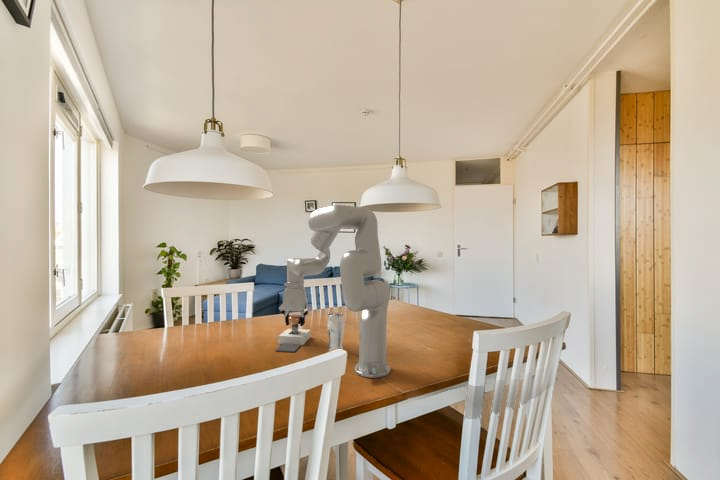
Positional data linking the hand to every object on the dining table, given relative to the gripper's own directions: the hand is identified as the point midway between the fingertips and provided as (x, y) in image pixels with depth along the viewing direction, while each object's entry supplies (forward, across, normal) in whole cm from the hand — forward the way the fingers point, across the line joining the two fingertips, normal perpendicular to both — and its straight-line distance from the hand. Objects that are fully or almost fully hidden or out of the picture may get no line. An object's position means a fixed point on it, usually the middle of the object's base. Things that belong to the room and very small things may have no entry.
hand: (295, 324), depth 141 cm
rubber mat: (+7, +1, -10) cm, 13 cm away
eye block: (+7, 0, 0) cm, 7 cm away
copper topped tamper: (+7, 0, 0) cm, 7 cm away
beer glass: (+7, +21, -10) cm, 24 cm away
